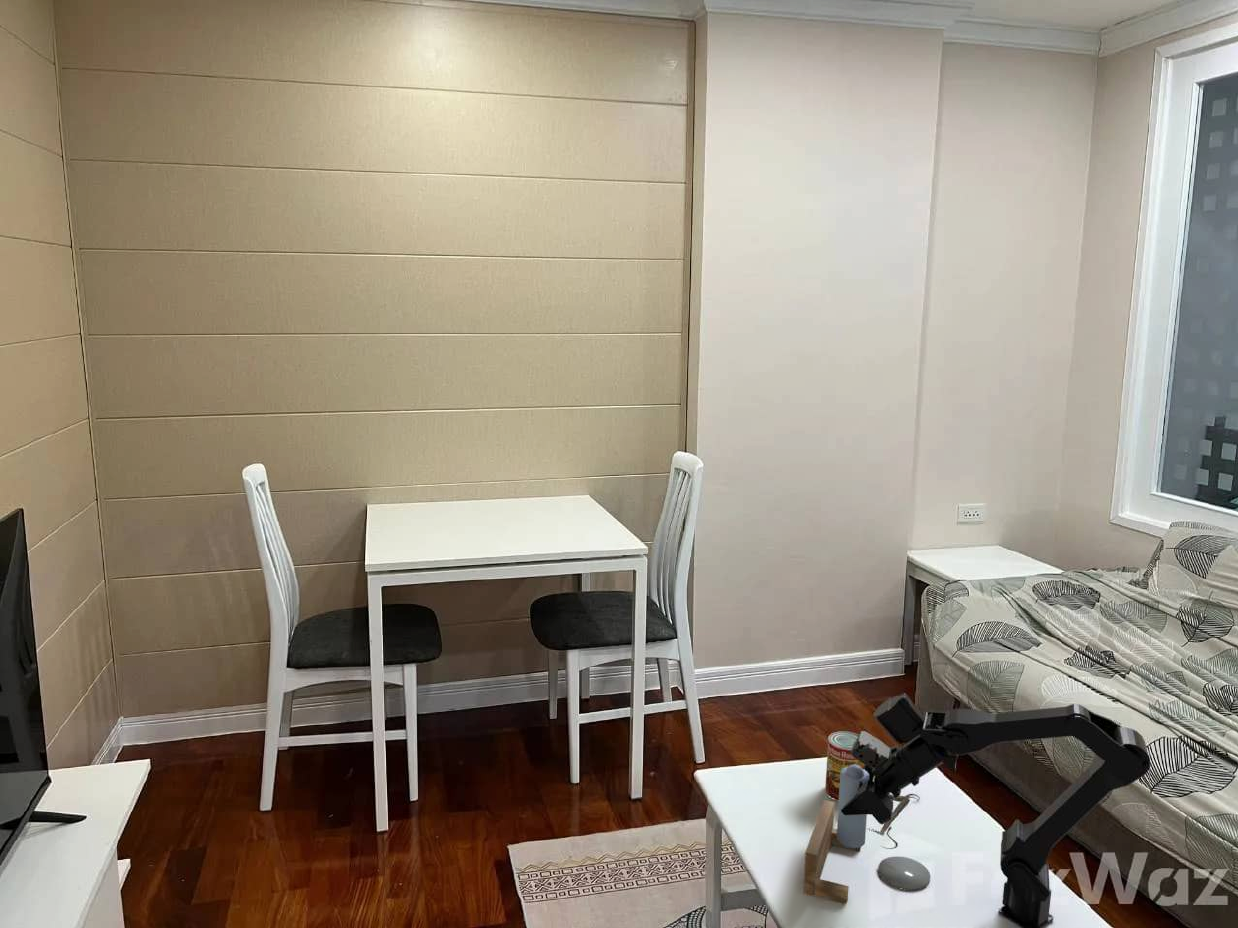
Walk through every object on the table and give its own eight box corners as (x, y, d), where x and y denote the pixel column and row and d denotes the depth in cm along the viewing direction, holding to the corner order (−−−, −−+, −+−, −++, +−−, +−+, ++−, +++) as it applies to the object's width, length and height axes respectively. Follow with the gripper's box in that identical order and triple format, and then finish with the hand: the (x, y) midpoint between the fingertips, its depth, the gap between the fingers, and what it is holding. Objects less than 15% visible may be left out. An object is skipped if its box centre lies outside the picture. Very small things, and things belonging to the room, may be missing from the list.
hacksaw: (892, 783, 201) (892, 776, 200) (939, 800, 194) (940, 793, 194) (842, 833, 182) (842, 826, 182) (892, 853, 176) (893, 846, 176)
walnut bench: (861, 846, 177) (863, 808, 176) (846, 903, 161) (849, 862, 159) (821, 837, 180) (823, 799, 178) (803, 892, 164) (805, 852, 162)
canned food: (819, 794, 195) (822, 742, 193) (833, 778, 201) (836, 727, 199) (855, 807, 190) (859, 753, 188) (868, 790, 197) (872, 737, 195)
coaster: (940, 878, 168) (940, 875, 168) (908, 896, 163) (908, 893, 163) (900, 853, 175) (900, 850, 175) (868, 870, 170) (868, 867, 170)
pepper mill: (870, 841, 167) (875, 767, 165) (851, 851, 165) (856, 775, 162) (849, 828, 171) (854, 755, 169) (830, 837, 169) (834, 763, 166)
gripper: (887, 702, 171) (823, 745, 177) (874, 748, 154) (804, 795, 160) (929, 749, 169) (863, 792, 175) (920, 802, 152) (848, 846, 158)
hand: (845, 804), depth 167 cm, fingers closed on pepper mill, 5 cm apart
